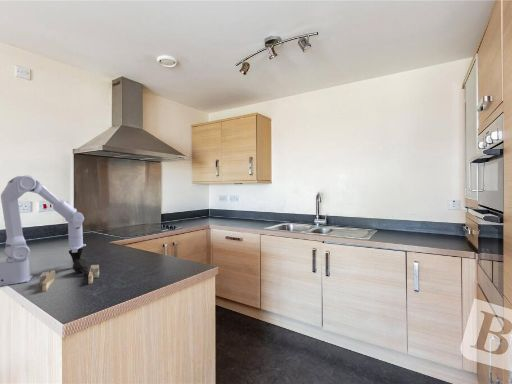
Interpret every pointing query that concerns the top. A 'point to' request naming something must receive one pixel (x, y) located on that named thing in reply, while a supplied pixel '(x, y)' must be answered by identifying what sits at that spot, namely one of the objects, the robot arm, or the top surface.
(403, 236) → the top surface
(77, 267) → the power plug
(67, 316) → the top surface
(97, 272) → the guide channel
